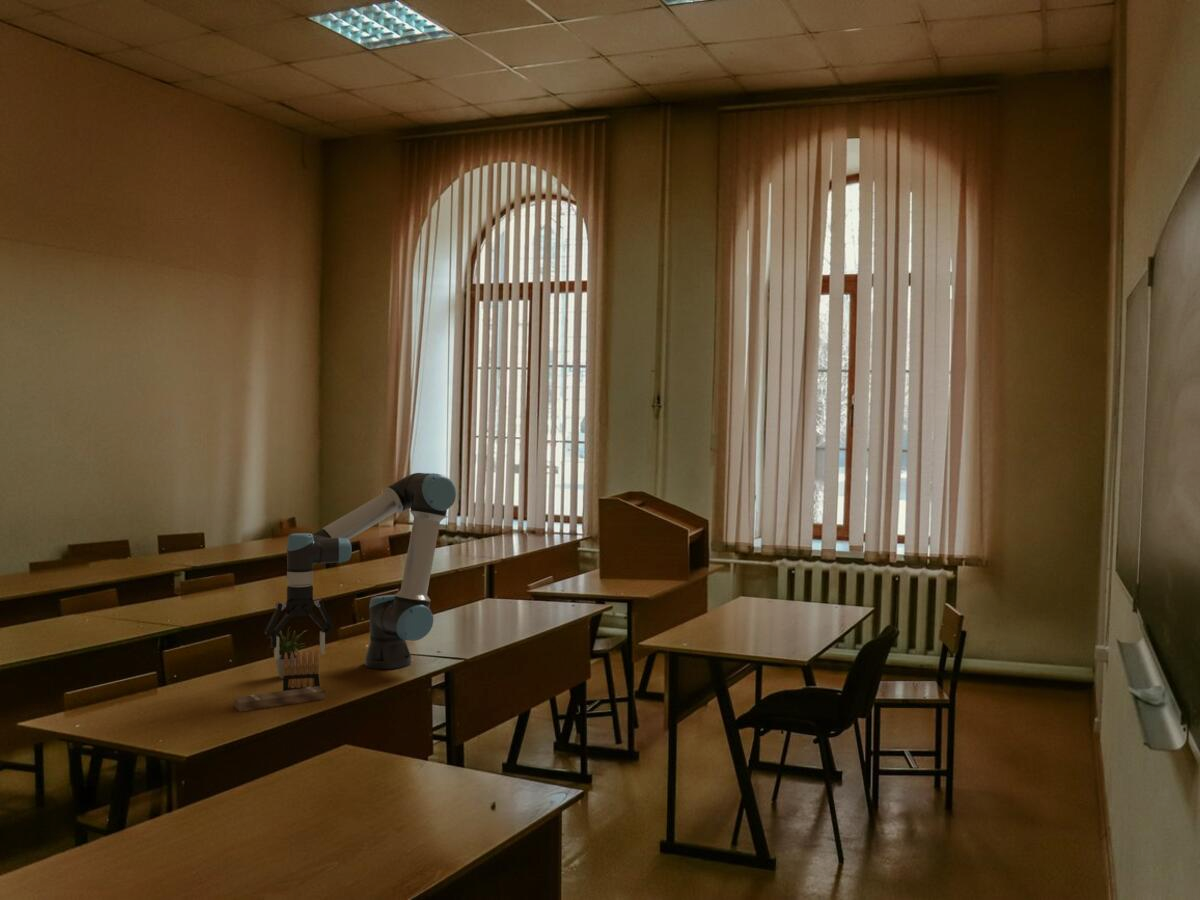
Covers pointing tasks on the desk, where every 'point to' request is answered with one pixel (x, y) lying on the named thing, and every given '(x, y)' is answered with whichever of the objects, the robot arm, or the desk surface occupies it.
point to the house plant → (287, 650)
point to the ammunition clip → (291, 676)
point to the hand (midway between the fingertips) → (299, 655)
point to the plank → (279, 698)
